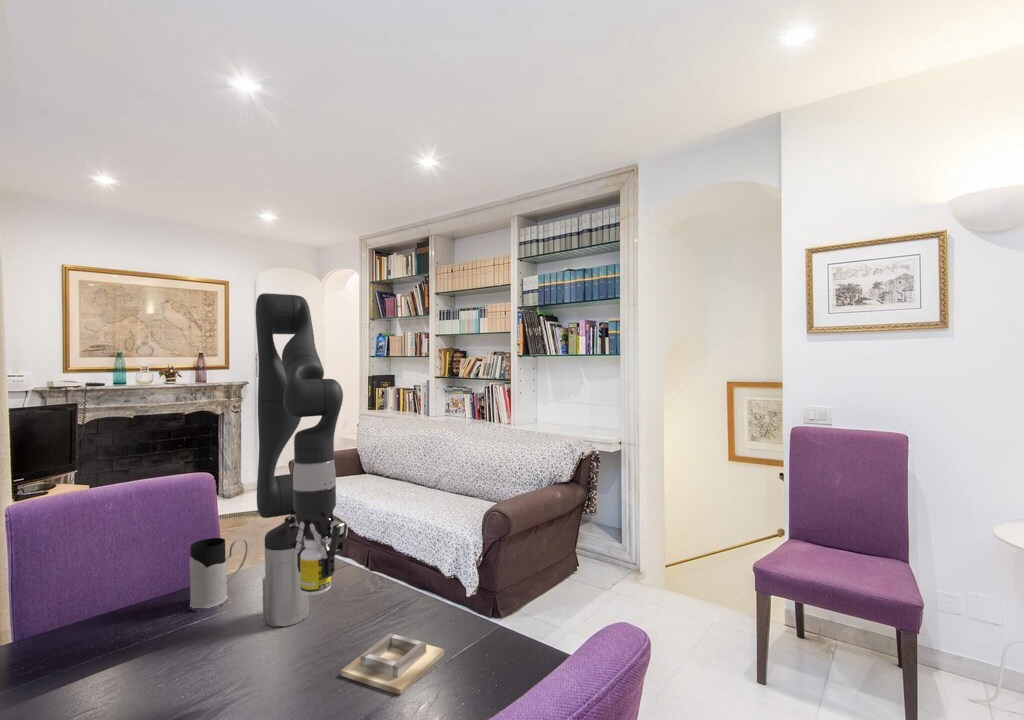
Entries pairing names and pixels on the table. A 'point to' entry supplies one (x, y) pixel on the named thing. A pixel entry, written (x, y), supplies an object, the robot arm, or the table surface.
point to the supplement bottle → (312, 569)
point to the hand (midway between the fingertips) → (316, 573)
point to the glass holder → (210, 572)
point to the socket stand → (393, 663)
